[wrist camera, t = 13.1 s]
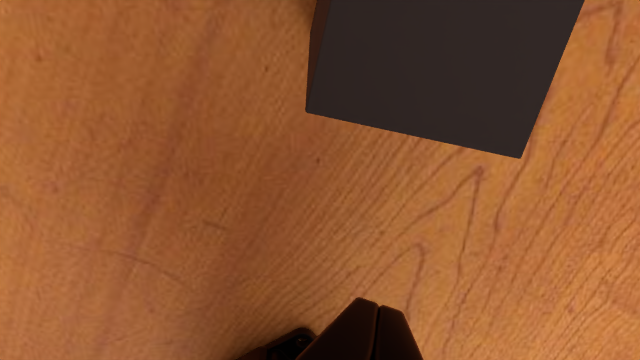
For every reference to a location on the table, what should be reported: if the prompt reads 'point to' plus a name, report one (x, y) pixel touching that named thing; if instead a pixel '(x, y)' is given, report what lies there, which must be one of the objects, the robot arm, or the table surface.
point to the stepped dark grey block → (439, 66)
